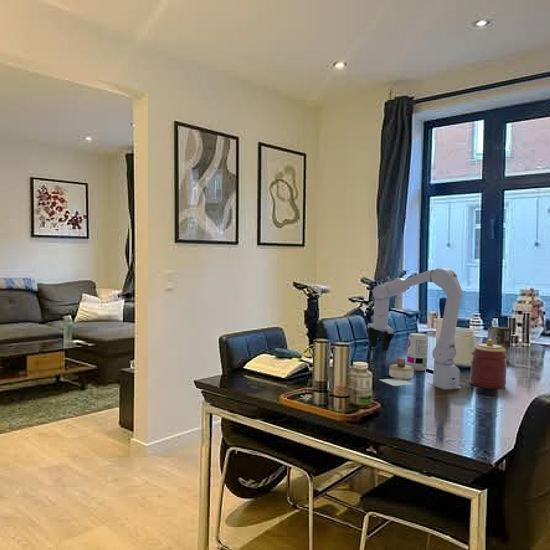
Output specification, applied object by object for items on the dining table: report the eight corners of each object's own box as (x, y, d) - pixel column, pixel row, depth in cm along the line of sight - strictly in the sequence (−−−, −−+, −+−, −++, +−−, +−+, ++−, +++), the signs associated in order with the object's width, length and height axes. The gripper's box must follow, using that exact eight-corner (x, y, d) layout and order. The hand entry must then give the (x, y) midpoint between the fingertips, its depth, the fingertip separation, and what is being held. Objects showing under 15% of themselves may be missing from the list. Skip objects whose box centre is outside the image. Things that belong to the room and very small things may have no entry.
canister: (462, 383, 203) (465, 338, 202) (480, 379, 211) (482, 335, 210) (495, 391, 193) (498, 343, 192) (512, 386, 201) (515, 340, 200)
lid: (414, 371, 204) (415, 361, 204) (391, 370, 205) (392, 360, 204) (410, 366, 213) (410, 357, 213) (387, 365, 214) (388, 356, 213)
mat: (414, 385, 196) (414, 384, 196) (393, 386, 193) (393, 385, 193) (399, 379, 205) (399, 378, 205) (378, 380, 201) (378, 379, 201)
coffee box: (505, 360, 255) (507, 326, 255) (509, 362, 249) (511, 328, 248) (485, 358, 256) (487, 325, 256) (489, 361, 250) (491, 327, 249)
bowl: (417, 379, 207) (418, 370, 207) (398, 380, 203) (399, 371, 203) (403, 374, 215) (404, 365, 215) (385, 375, 212) (385, 366, 212)
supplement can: (404, 369, 224) (406, 334, 223) (409, 366, 231) (411, 332, 231) (424, 372, 220) (426, 336, 220) (428, 368, 227) (430, 334, 227)
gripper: (400, 317, 206) (398, 351, 207) (378, 312, 219) (376, 345, 220) (385, 317, 203) (383, 352, 204) (364, 312, 216) (362, 345, 217)
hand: (379, 348), depth 212 cm, fingers open, 7 cm apart
